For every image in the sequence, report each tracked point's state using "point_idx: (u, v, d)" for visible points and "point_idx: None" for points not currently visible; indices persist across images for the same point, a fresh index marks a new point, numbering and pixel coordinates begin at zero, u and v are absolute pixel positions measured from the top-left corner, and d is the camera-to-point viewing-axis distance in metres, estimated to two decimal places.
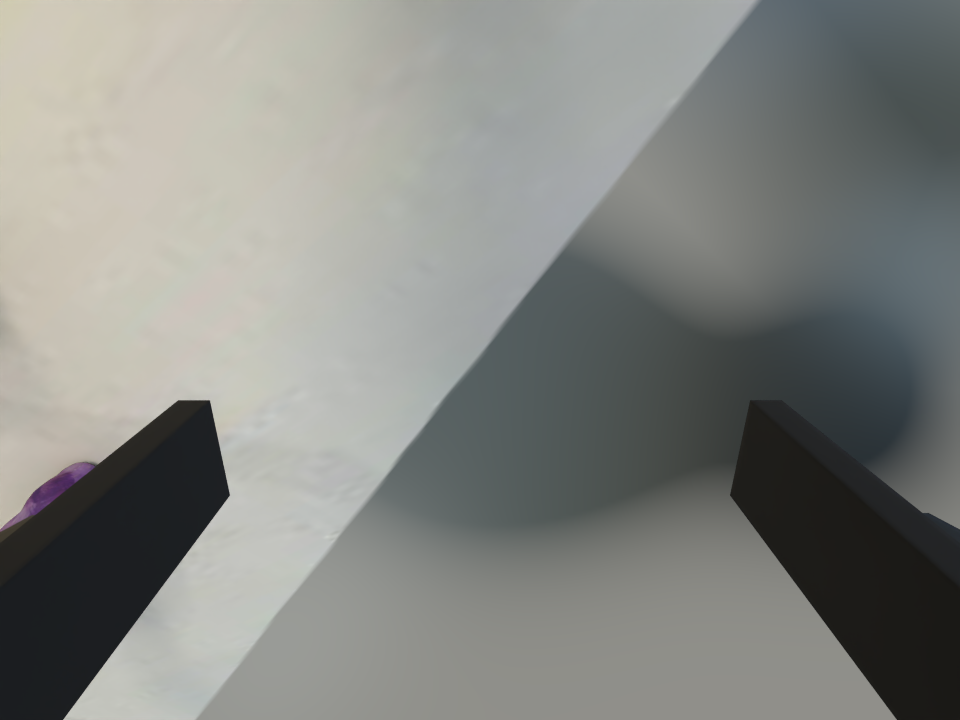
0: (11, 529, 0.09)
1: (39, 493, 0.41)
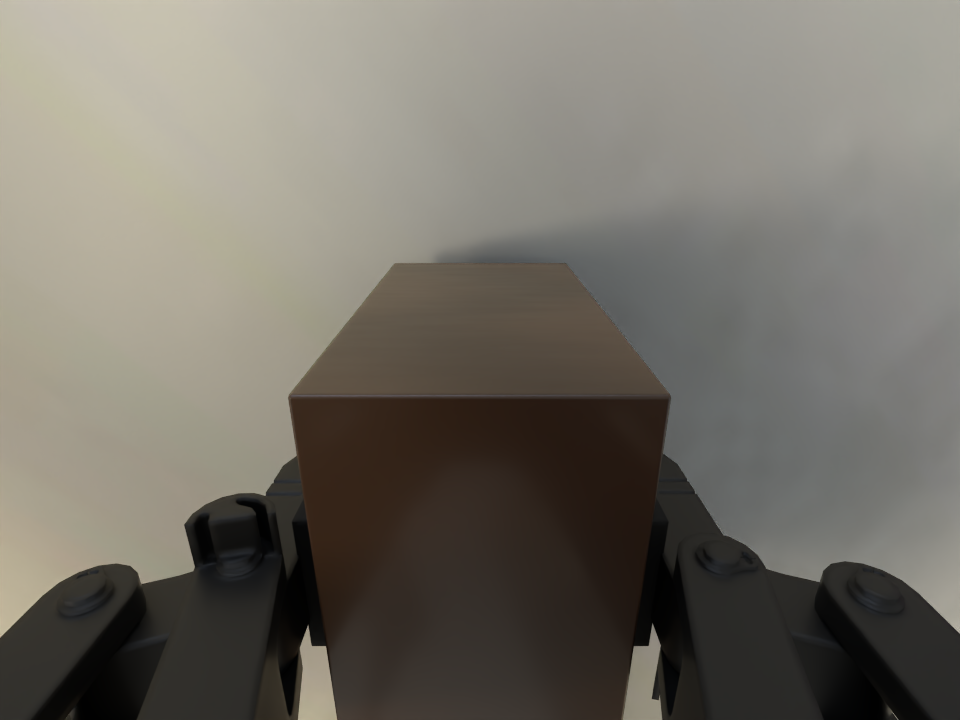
0: (292, 463, 0.11)
1: None
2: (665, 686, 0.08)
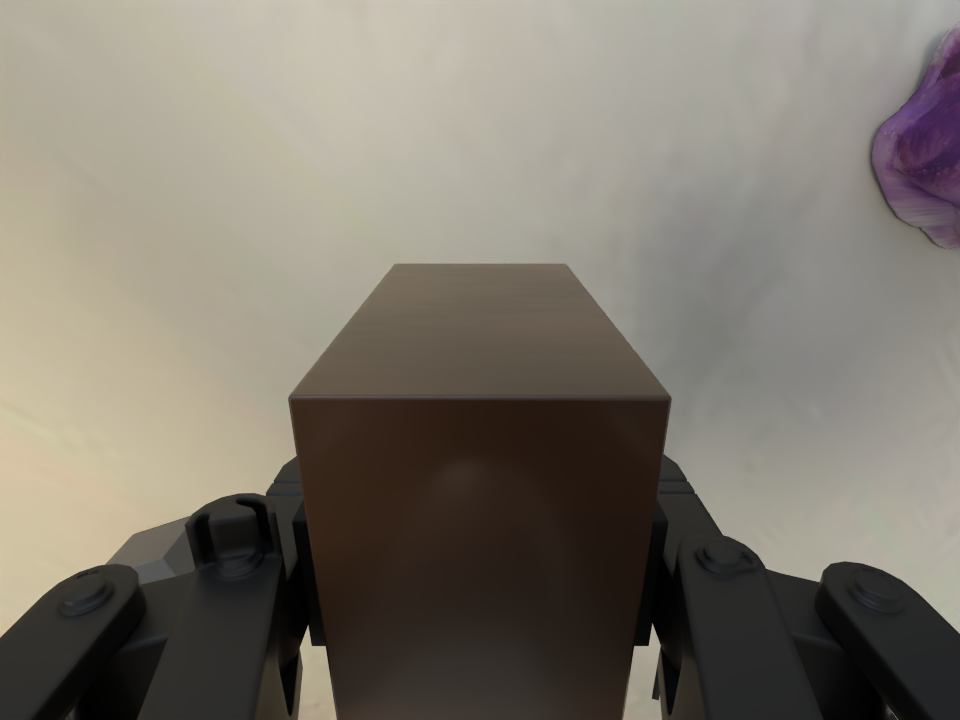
0: (292, 463, 0.11)
1: (947, 151, 0.21)
2: (665, 686, 0.08)
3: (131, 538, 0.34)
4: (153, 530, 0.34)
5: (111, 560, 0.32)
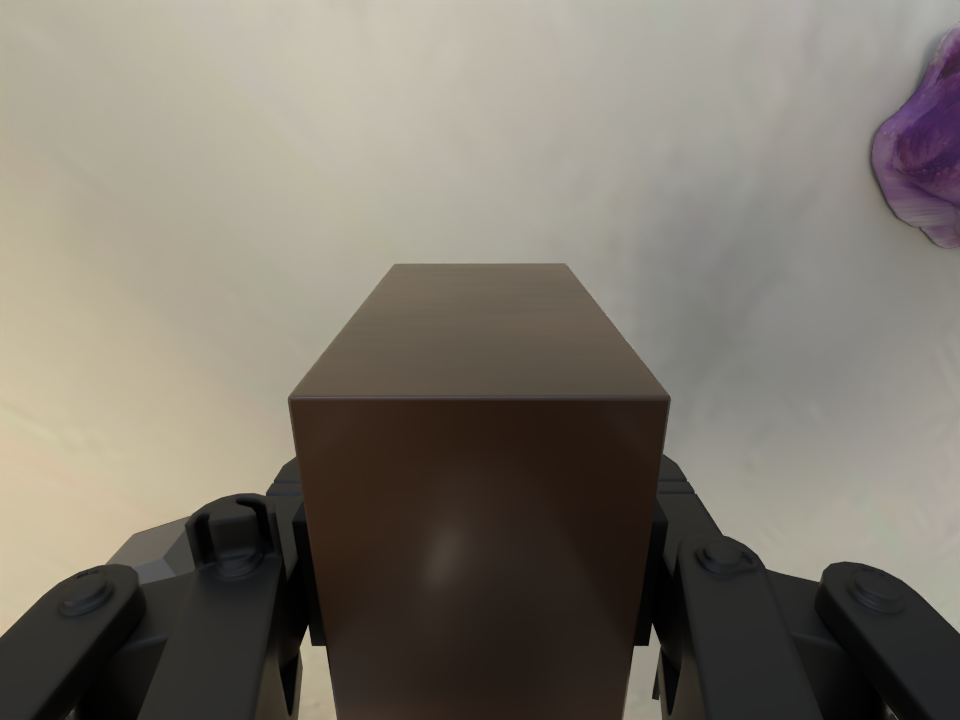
0: (292, 463, 0.11)
1: (947, 151, 0.21)
2: (665, 686, 0.08)
3: (131, 538, 0.34)
4: (153, 530, 0.34)
5: (111, 560, 0.32)
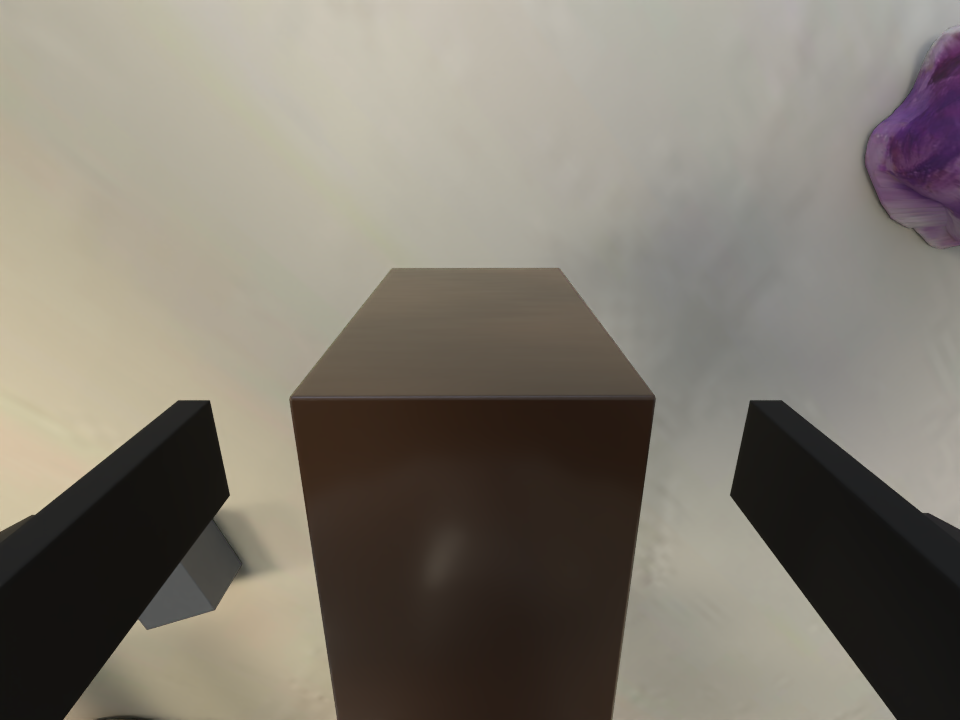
0: (11, 529, 0.09)
1: (937, 153, 0.22)
2: None
3: None
4: None
5: None
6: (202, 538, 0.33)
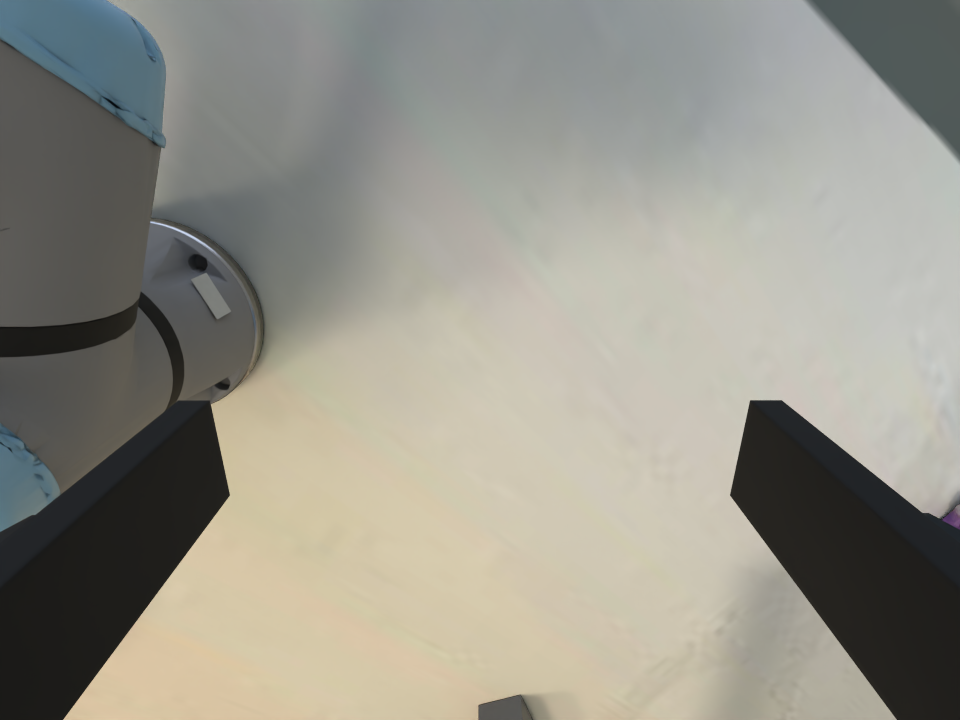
0: (11, 529, 0.09)
1: None
2: None
3: (481, 709, 0.57)
4: (494, 704, 0.57)
5: None
6: (525, 716, 0.56)
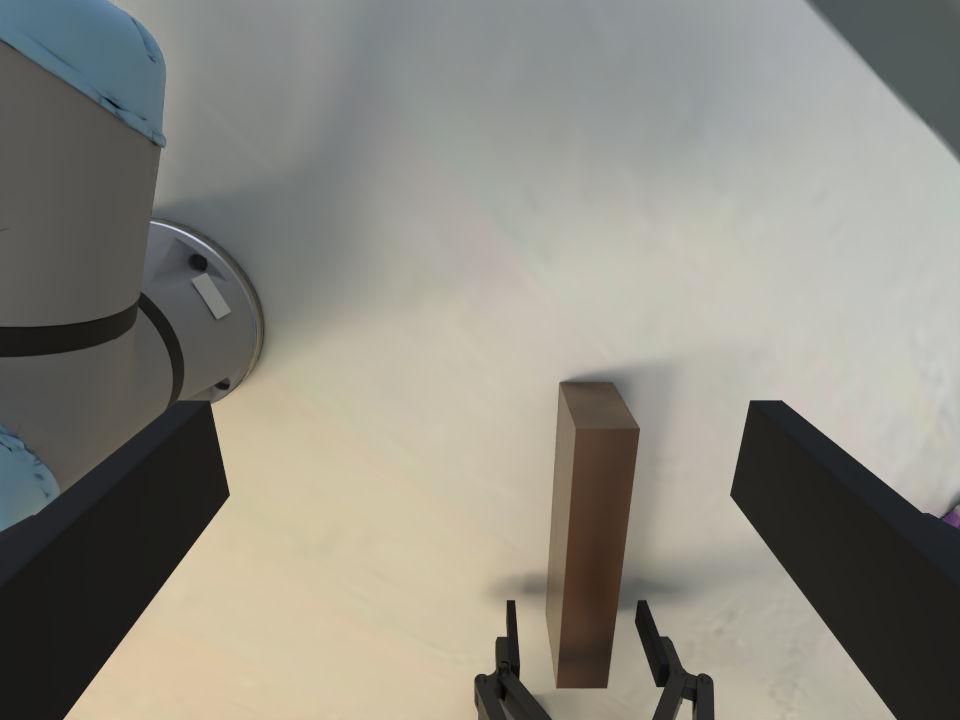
0: (11, 529, 0.09)
1: None
2: None
3: None
4: None
5: None
6: None
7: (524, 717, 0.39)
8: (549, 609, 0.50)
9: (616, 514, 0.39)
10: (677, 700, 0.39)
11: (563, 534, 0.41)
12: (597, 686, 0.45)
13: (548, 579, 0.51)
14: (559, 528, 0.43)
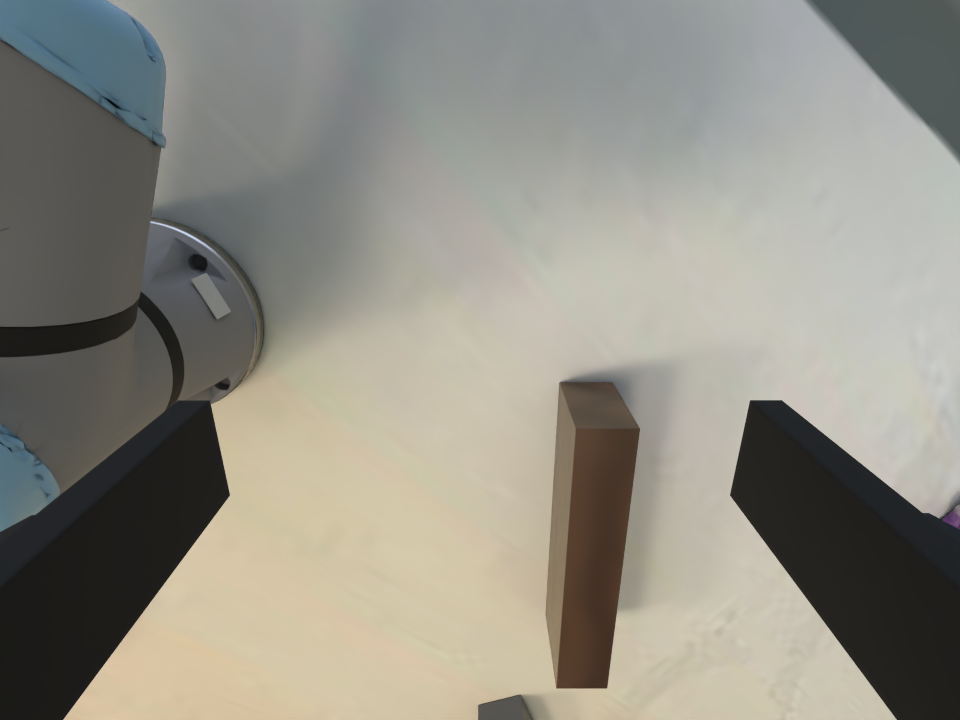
0: (11, 529, 0.09)
1: None
2: None
3: (481, 709, 0.57)
4: (493, 704, 0.57)
5: None
6: (524, 716, 0.56)
7: None
8: (549, 609, 0.50)
9: (616, 514, 0.39)
10: None
11: (563, 534, 0.41)
12: (597, 686, 0.45)
13: (548, 579, 0.51)
14: (559, 528, 0.43)
